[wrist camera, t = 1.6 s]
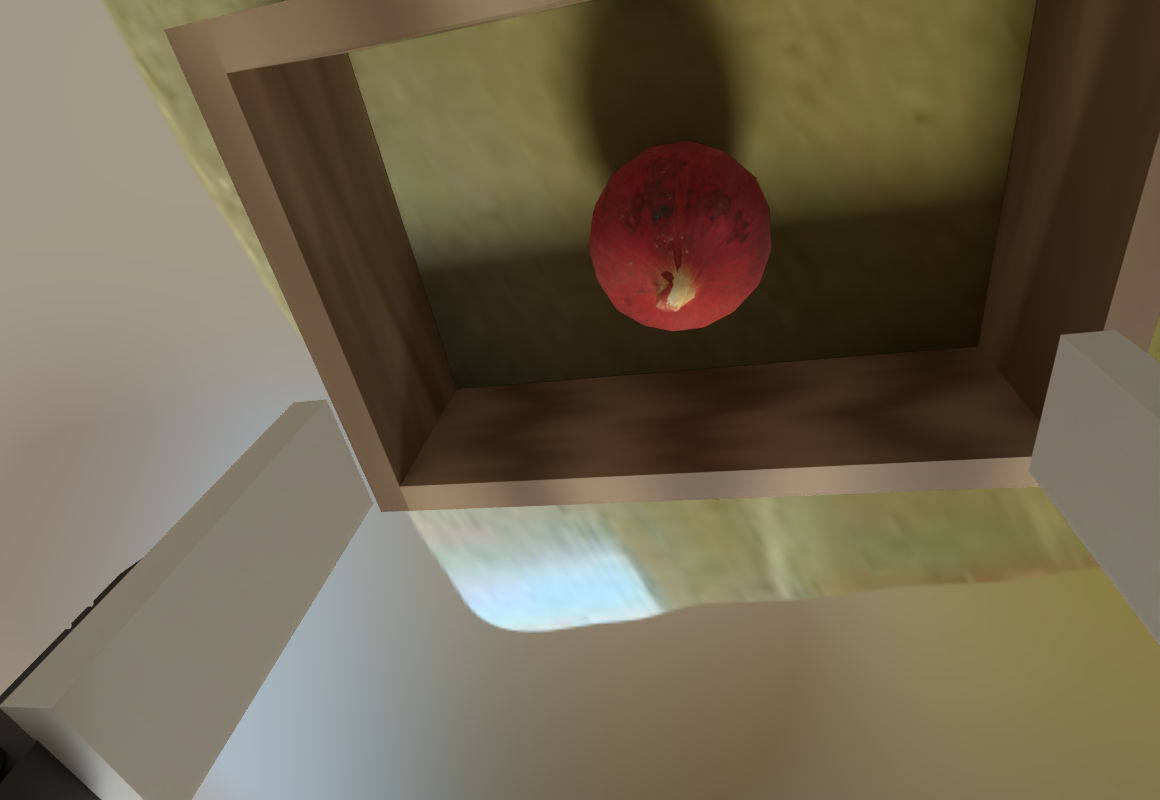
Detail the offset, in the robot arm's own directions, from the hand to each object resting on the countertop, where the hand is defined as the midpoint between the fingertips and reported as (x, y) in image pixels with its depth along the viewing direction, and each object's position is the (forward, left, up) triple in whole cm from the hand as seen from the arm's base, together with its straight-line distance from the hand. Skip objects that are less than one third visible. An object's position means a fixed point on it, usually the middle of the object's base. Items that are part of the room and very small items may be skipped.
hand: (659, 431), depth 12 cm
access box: (0, 0, -14) cm, 14 cm away
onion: (0, 0, -14) cm, 14 cm away
